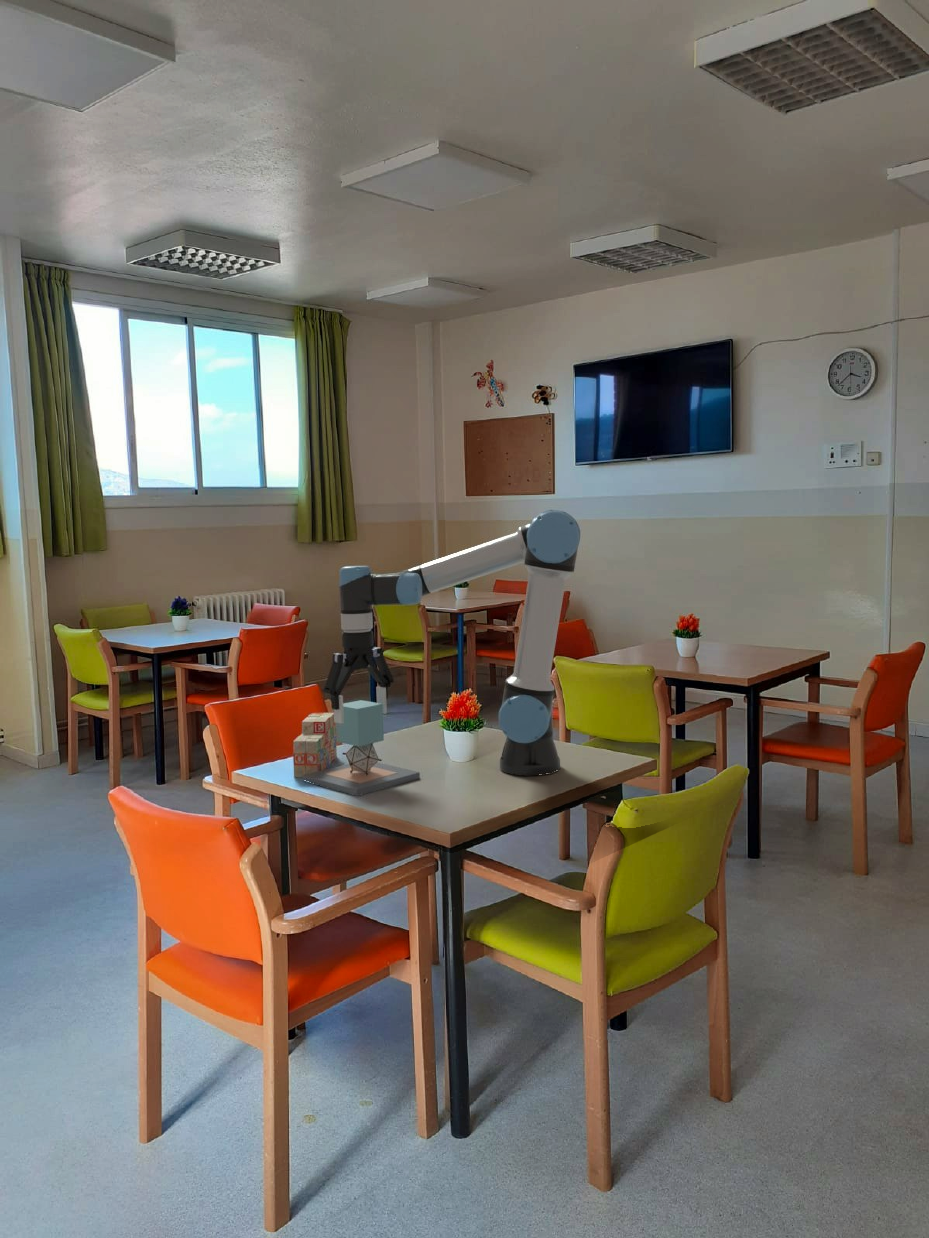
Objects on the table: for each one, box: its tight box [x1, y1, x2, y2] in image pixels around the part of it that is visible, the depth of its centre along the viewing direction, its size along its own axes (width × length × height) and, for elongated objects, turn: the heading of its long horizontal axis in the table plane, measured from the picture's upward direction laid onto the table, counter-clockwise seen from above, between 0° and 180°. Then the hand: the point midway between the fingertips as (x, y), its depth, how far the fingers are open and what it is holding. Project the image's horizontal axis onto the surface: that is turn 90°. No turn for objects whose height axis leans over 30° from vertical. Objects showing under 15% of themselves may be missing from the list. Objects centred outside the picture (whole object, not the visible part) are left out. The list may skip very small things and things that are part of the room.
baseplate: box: [302, 761, 421, 797], centre depth 233 cm, size 20×20×2 cm
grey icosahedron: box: [341, 743, 383, 775], centre depth 233 cm, size 9×8×10 cm
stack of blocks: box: [292, 712, 338, 778], centre depth 246 cm, size 21×6×12 cm, turn 175°
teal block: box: [336, 699, 385, 746], centre depth 232 cm, size 8×8×9 cm
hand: (361, 718), depth 232 cm, fingers open, 13 cm apart
